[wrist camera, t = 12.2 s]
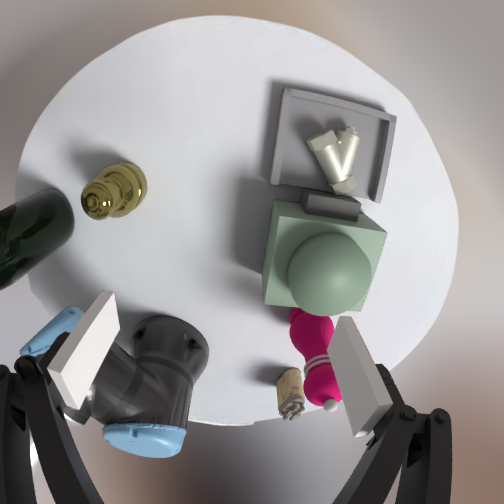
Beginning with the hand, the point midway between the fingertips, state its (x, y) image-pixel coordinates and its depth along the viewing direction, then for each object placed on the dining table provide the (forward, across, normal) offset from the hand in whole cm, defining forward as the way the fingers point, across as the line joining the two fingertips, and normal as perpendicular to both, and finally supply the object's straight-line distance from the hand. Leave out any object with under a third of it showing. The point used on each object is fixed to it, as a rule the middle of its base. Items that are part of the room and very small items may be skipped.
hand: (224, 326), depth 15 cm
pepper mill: (+26, -14, +17) cm, 34 cm away
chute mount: (+25, -12, -11) cm, 30 cm away
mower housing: (+26, -12, +3) cm, 28 cm away
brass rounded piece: (+26, +17, -2) cm, 31 cm away
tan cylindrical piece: (+26, -14, +34) cm, 45 cm away
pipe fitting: (+25, -13, -10) cm, 30 cm away
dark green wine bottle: (+27, +32, +4) cm, 42 cm away
